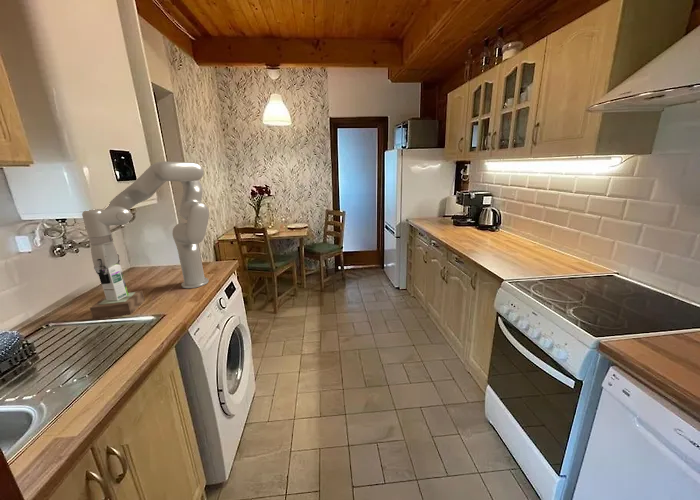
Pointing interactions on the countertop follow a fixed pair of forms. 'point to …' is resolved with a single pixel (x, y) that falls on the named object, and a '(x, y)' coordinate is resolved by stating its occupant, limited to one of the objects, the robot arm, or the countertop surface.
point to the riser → (117, 306)
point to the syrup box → (115, 284)
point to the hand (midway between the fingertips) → (112, 279)
